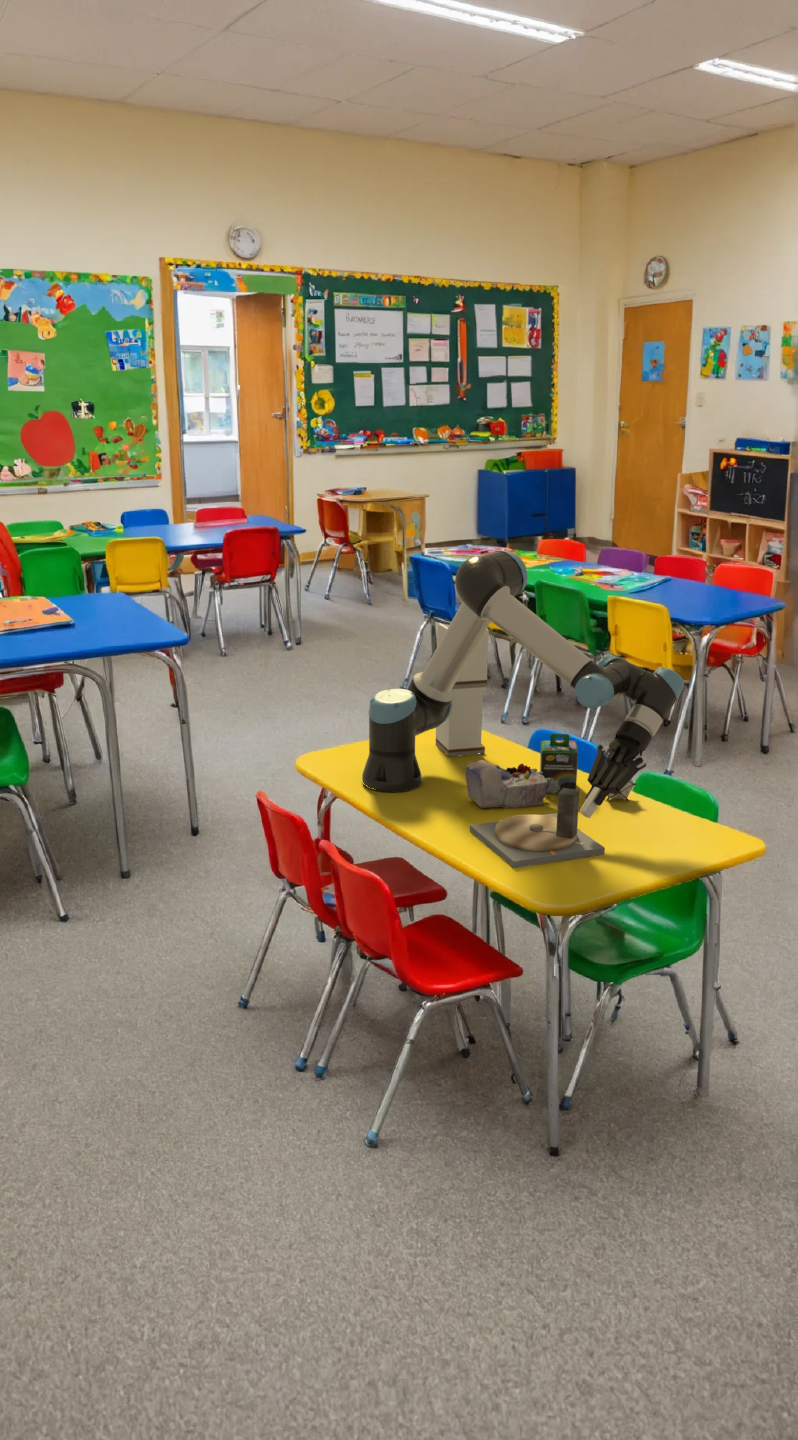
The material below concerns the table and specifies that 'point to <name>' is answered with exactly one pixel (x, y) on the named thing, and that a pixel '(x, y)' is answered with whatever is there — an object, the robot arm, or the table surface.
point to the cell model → (505, 785)
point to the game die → (623, 791)
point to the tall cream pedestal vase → (466, 704)
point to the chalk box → (559, 762)
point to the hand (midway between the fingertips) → (584, 814)
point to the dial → (543, 827)
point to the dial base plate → (525, 857)
